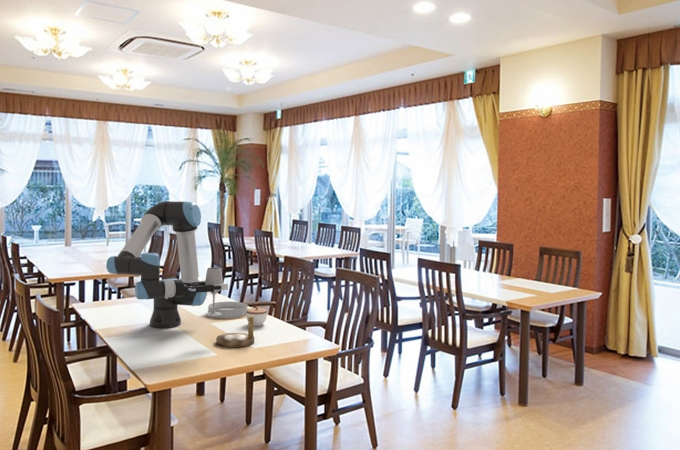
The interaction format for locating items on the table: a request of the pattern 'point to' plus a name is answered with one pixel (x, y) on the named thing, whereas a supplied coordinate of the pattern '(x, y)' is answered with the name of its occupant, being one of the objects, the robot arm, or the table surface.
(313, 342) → the table surface
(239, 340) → the wooden holder stand
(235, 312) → the dish
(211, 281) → the wineglass
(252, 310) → the lidded jar
